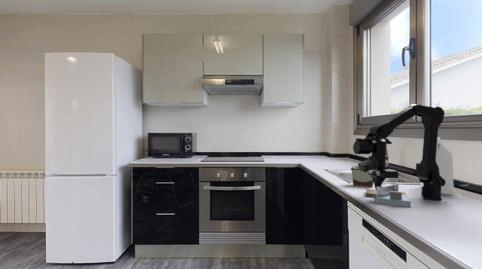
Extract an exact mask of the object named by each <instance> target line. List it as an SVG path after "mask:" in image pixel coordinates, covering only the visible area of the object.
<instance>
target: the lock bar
mask: <svg viewBox="0 0 482 269" xmlns="http://www.w3.org/2000/svg"><path fill="white" fill-rule="evenodd" d="M399 186H400V185H399V184H398V183H395V182H393V183H391V182H388V184H387V183H386V184H382V185H381V186H377V194H378V195H387V194H390V191H397V192H399Z"/></svg>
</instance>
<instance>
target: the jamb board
mask: <svg viewBox="0 0 482 269" xmlns="http://www.w3.org/2000/svg"><path fill="white" fill-rule="evenodd" d="M401 192H402V195H407V193H406V192H404V191H401ZM365 193H366V194H365V196H366V197H369V198H376V193H377V190H375V189H369V188H367V189H366V191H365Z"/></svg>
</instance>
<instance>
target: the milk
mask: <svg viewBox="0 0 482 269" xmlns="http://www.w3.org/2000/svg"><path fill="white" fill-rule="evenodd" d="M441 142H442V141H441V137H437V150H436V163H437V165H438V167H439V173H440V176H441V177H442V178H443V179H444V180H445V181H446V182H445V185H444V186H441V195H453V194H454V192H455V191H454V163H453V162H454V161H453V160H454V159H453V154H452V152H450V150H448V149H447V148H446V147H445V146H444V145H443V144H441ZM421 186H423V183H421V182H420V187H421Z"/></svg>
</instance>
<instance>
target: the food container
mask: <svg viewBox="0 0 482 269" xmlns="http://www.w3.org/2000/svg"><path fill="white" fill-rule="evenodd" d="M350 171H351V176H352V186H355V187H364V188H373V186H374V182H373V179H372V177H371V176H370V175H369V174H368V173H369V171H368V172H363V171H360V170H359V167H358V165H352V166H351V168H350Z"/></svg>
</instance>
